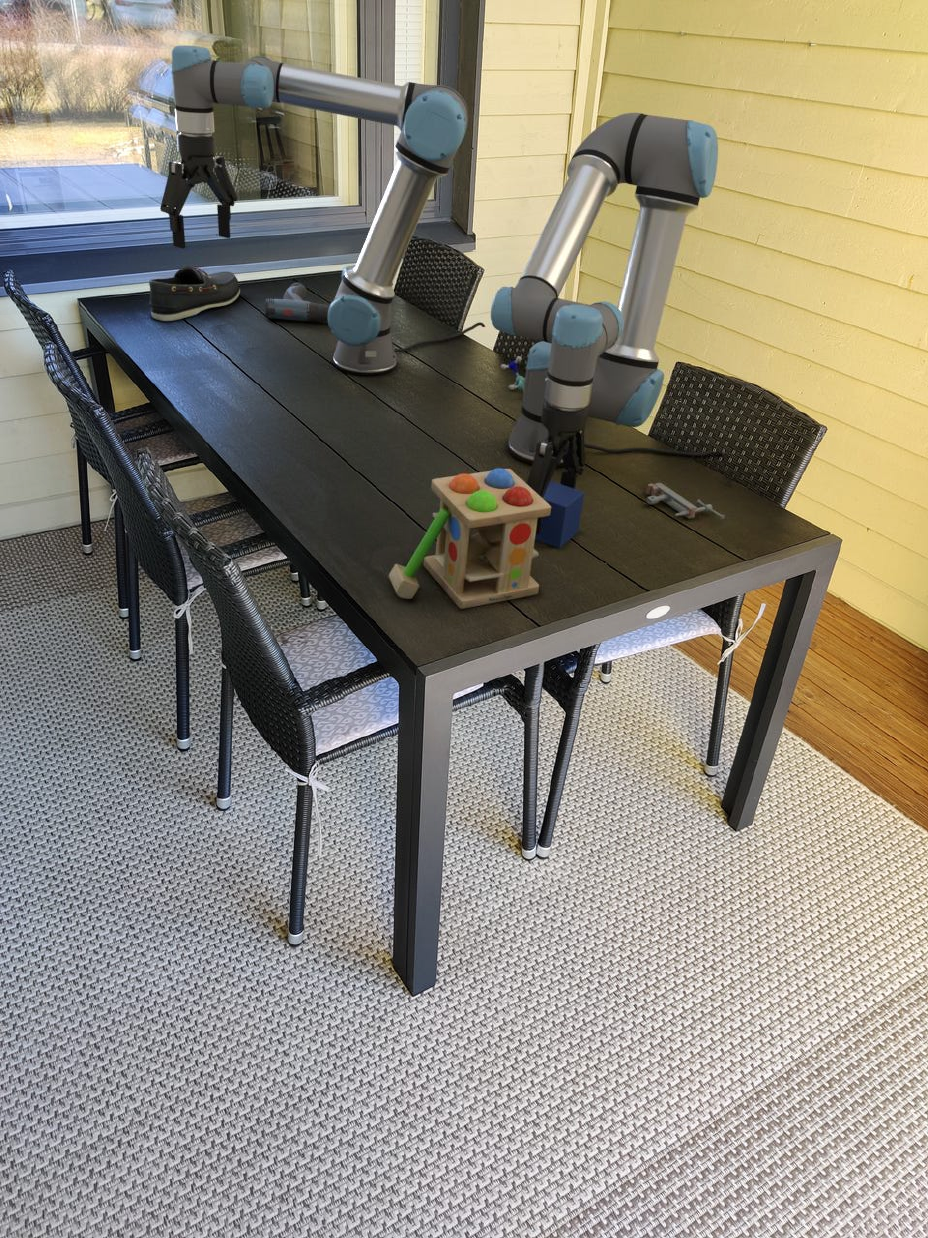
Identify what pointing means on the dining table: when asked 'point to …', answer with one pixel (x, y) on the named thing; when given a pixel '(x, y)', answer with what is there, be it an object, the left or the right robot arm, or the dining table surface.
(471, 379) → the dining table surface
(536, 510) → the pounding bench toy
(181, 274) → the boat shoe
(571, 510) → the brick
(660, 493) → the clamp
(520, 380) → the molecular model
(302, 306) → the power drill
